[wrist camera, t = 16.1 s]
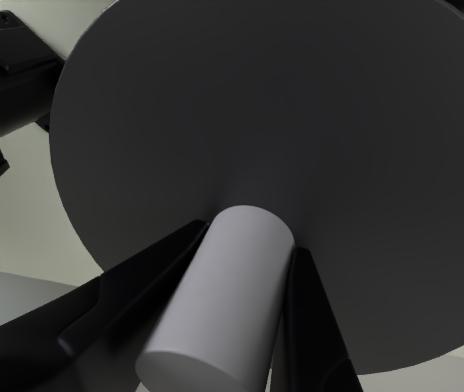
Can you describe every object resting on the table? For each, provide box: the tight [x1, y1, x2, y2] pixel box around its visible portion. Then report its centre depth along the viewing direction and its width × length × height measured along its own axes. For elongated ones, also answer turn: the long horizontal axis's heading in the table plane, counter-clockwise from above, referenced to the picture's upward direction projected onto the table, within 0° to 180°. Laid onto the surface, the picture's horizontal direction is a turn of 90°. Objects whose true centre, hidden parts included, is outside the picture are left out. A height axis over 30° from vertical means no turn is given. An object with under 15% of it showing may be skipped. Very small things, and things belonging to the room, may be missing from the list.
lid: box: [49, 0, 464, 392], centre depth 8 cm, size 14×14×6 cm
